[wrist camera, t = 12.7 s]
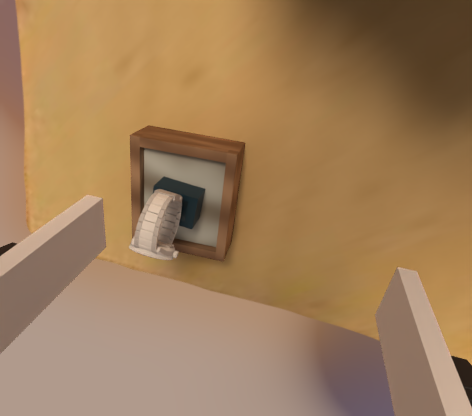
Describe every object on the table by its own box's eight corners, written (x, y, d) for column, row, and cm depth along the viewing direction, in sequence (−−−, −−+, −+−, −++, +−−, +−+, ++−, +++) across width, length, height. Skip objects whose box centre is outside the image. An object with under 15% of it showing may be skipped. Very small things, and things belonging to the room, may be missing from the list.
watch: (158, 218, 45) (116, 266, 36) (165, 163, 42) (121, 200, 32) (197, 230, 45) (166, 282, 35) (208, 176, 41) (177, 217, 32)
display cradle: (148, 125, 44) (129, 135, 40) (245, 142, 43) (237, 154, 38) (148, 223, 51) (132, 241, 47) (231, 241, 50) (223, 261, 45)
